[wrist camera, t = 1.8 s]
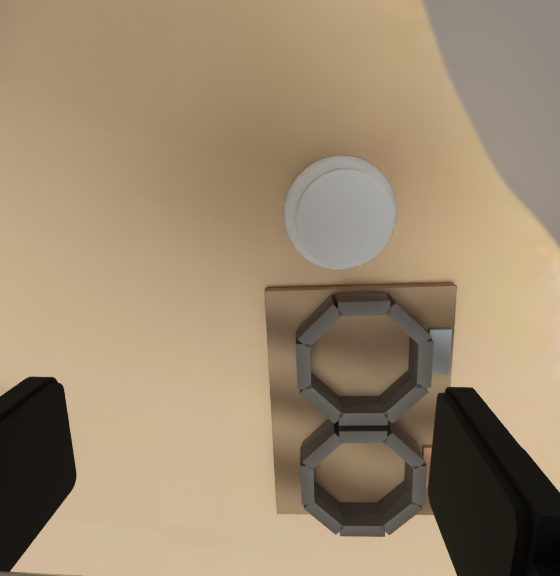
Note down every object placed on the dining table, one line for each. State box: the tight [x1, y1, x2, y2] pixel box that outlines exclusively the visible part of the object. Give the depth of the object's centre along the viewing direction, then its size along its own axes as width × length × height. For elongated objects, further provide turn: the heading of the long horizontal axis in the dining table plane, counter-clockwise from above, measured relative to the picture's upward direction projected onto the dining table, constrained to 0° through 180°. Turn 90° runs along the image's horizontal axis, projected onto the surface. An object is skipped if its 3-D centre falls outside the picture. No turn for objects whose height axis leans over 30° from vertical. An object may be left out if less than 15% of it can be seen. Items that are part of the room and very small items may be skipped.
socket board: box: [265, 283, 457, 537], centre depth 32 cm, size 20×14×4 cm
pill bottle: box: [283, 155, 397, 270], centre depth 25 cm, size 6×6×11 cm
